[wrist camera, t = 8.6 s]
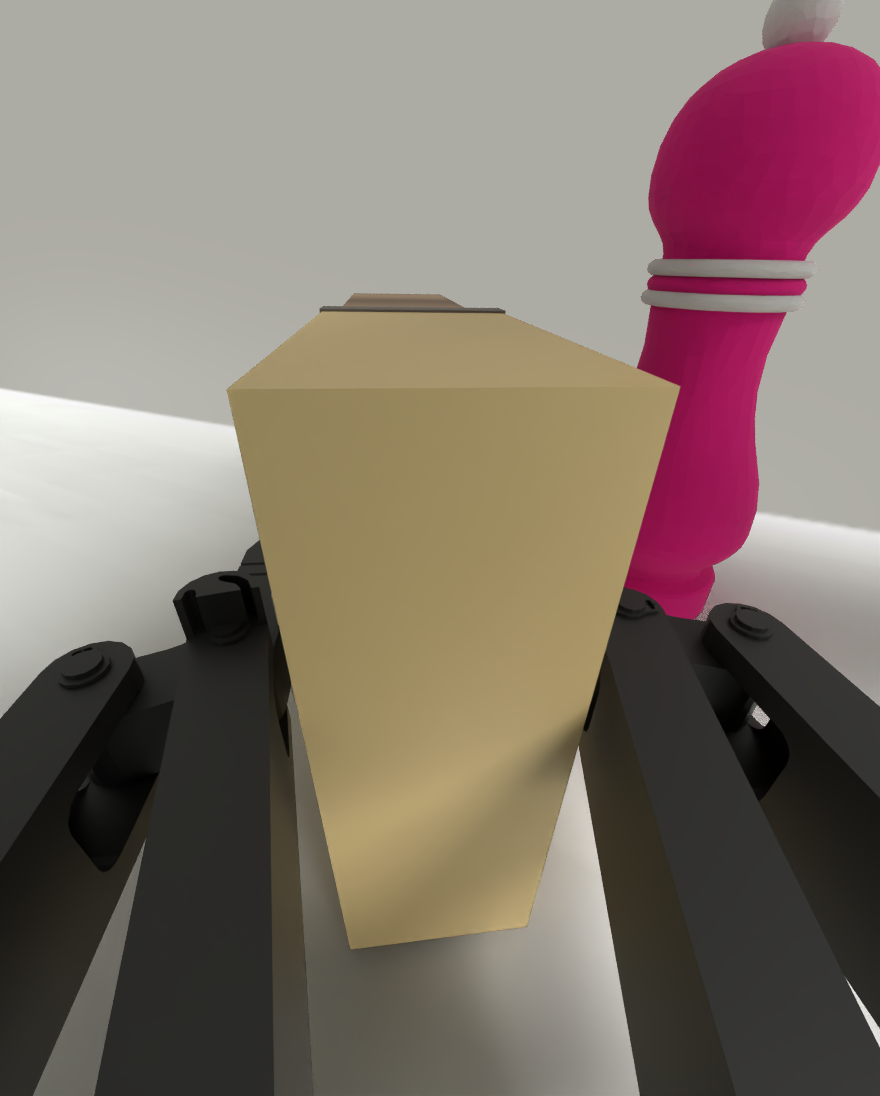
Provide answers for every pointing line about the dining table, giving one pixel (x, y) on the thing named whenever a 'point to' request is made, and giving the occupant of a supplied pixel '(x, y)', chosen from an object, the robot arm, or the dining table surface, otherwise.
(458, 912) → the stub
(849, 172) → the pepper mill
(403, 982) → the dining table surface
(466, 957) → the dining table surface
